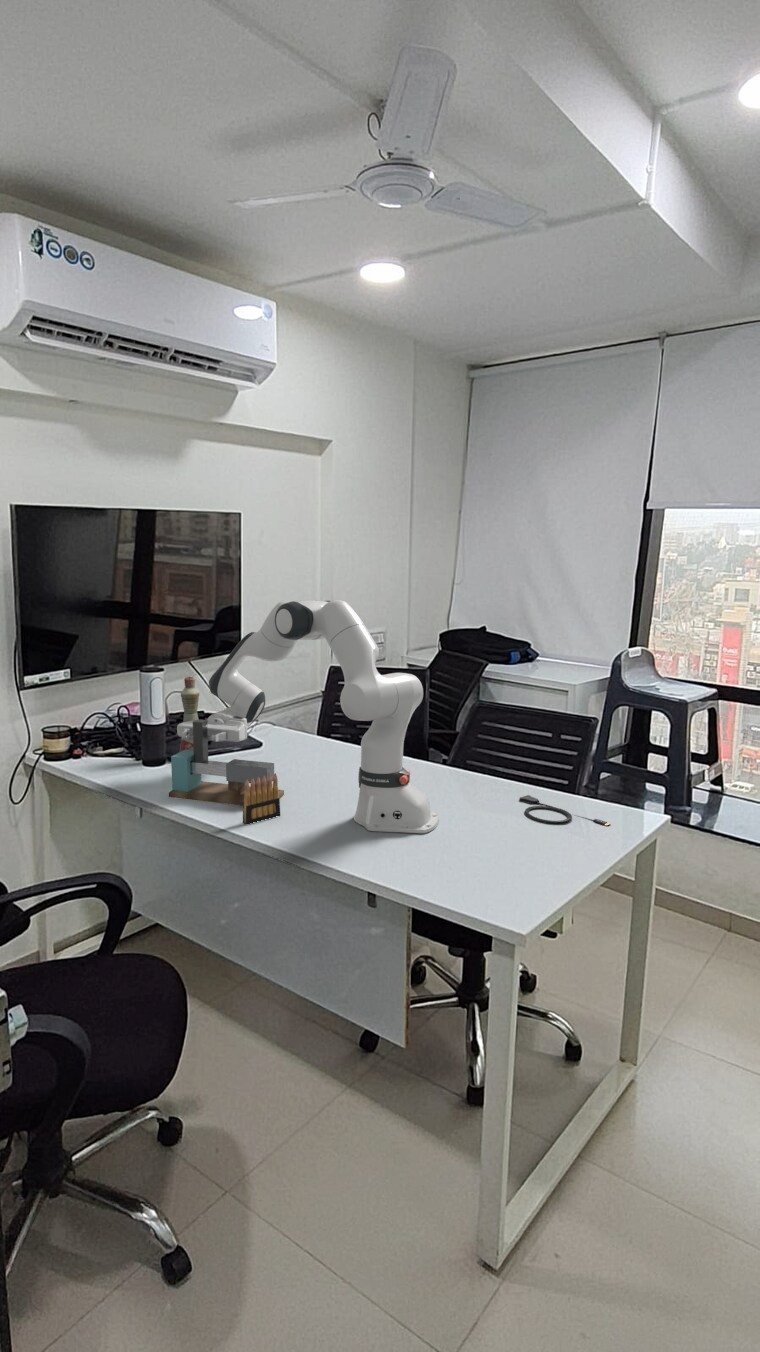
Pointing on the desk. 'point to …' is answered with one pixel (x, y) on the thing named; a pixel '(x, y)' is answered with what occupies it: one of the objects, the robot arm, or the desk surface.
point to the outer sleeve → (248, 771)
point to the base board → (216, 793)
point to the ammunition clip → (261, 800)
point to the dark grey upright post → (204, 752)
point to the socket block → (183, 772)
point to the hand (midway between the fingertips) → (198, 737)
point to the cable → (533, 800)
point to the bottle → (189, 708)
